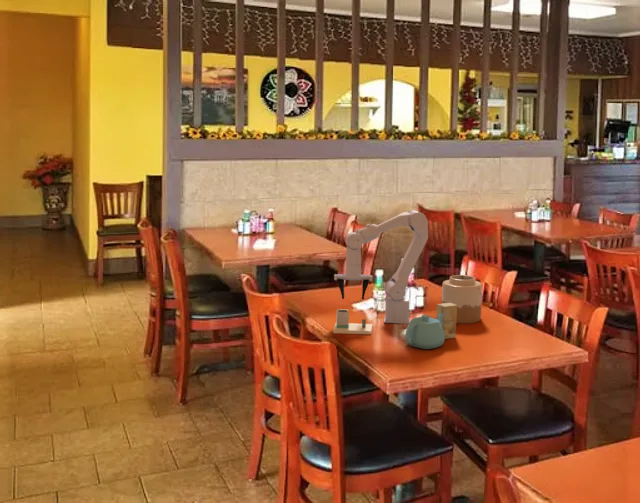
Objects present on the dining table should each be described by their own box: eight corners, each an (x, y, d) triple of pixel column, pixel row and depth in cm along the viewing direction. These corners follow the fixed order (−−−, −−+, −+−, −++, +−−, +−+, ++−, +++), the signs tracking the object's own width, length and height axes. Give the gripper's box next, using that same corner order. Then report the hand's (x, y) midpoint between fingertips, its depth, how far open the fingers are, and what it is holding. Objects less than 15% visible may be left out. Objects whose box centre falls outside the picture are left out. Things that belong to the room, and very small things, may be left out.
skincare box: (442, 339, 266) (443, 306, 264) (434, 336, 270) (435, 304, 267) (456, 337, 269) (457, 304, 267) (449, 334, 272) (450, 302, 270)
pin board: (372, 327, 282) (372, 316, 281) (371, 334, 272) (371, 323, 272) (335, 325, 284) (335, 315, 283) (333, 333, 274) (333, 321, 273)
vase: (464, 326, 284) (465, 283, 281) (433, 318, 295) (434, 276, 292) (488, 319, 294) (490, 277, 291) (457, 311, 305) (459, 271, 302)
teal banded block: (348, 324, 281) (348, 309, 280) (348, 328, 276) (348, 312, 275) (336, 324, 281) (336, 309, 280) (336, 328, 276) (336, 312, 275)
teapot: (458, 314, 259) (423, 323, 248) (457, 343, 261) (422, 354, 250) (431, 307, 269) (396, 315, 257) (430, 336, 271) (395, 345, 259)
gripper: (372, 262, 288) (372, 296, 290) (335, 261, 290) (335, 295, 292) (371, 266, 281) (371, 301, 284) (333, 265, 283) (333, 299, 285)
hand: (353, 298), depth 287 cm, fingers open, 7 cm apart
